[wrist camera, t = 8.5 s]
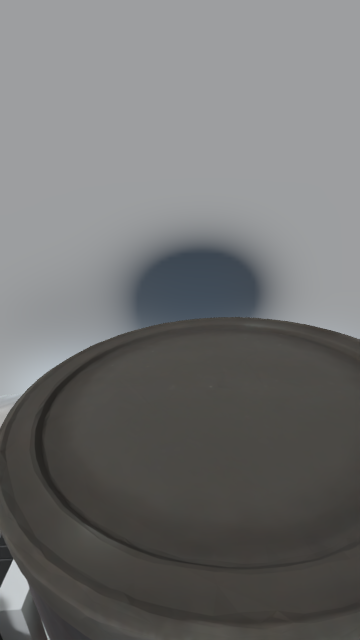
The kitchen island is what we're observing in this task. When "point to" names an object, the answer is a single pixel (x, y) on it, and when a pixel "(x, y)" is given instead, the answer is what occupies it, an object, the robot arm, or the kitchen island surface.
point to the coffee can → (191, 485)
